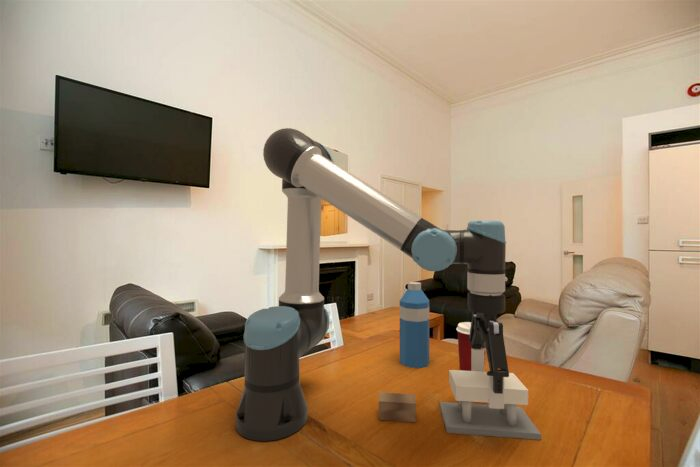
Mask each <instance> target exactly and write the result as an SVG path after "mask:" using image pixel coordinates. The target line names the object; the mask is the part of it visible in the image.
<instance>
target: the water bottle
mask: <svg viewBox="0 0 700 467" xmlns="http://www.w3.org/2000/svg"><path fill="white" fill-rule="evenodd" d="M399 363H400V364H401V365H402V366H404V367H406V368H407V367H408V368H414V369H421V368H427V367H428V366H429V364H430V299H429V298H428V297H427V295H426V294H425V293H424V291H423V290H422V282H418V281H410V282H407V290H406V291H405V293H403V295H402V296H401V298H400V300H399Z"/></svg>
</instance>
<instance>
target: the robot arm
mask: <svg viewBox="0 0 700 467" xmlns="http://www.w3.org/2000/svg"><path fill="white" fill-rule="evenodd" d="M262 149H263V150H262V151H263V153H262V155H263V160H264V163H265V166H266V167H267V169H268V170H269V171H270V172H271V173H272V174H273V175H274V176H276V177H277V178H279V179H281V186H282V187H281V192H282V193H283V194H284V195H285V196H286V198H287V209H286V210H287V211H286V212H287V213H286V215H287V216H286V245H285V246H286V249H285V250H286V252H285V254H286V255H285V280H284V281H285V283H284V284H285V285H284V292H283V293H282V294H280V295H279V297H278V305H277V306H271V307H268V308H261V309H259V310H257V311H255V312H253V313H252V314H250V315H249V316H248V317H247V319H246V320H245V323H244V332H243V344H244V347H243V348H244V355H243V356H244V388H243V391H242V394H241V397H240V399H239V400H240V401H239V404H238V407H237V410H236V412H235V413H236V414H235V428H236V431H237V432H238V434H239V435H240V436H241V437H244V438H246V439H249V440H252V441H256V442H259V441H260V442H265V441H266V442H268V441H269V442H270V441H276V440H280V439H284V438H288V437H290V436H292V435H293V434H295V433H297V432H299V430H301V429H302V428H303V427H304V425H305V424H306V422H307V420H308V403H307V401H306V397H305V395H304V391H303V388H302V384H301V383H300V358H301V357H302V356H304V355H305V354H306V353H308V352H309V350H311V349H312V348H314V347H315V346H317V345H318V344H319V343H320V342H321V341H322V340H323V339H324V337H325V336H326V334H327V333H328V330H329V327H330V315H329V311H328V310H327V309H326V307H325V296H323V295H322V293H321V292H320V289H319V288H320V287H319V286H320V258H321V256H320V254H321V252H320V251H321V220H322V219H321V218H322V216H321V215H322V200H324V201H325V202H327V203H328V204H329V205H331V206H333V207H334V208H336V209H337V210H339V212H342V213H343V214H345V215H347V216H348V217H350V218H351V219H352V220H354V221H356V222H357V223H358V224H360V225H362V226H363V227H365V228H366V229H367V230H370V231H371V232H372V233H374V234H376V235H377V236H378V237H381V239H383V240H384V241H385V242H386V241H387V243H389V244H391V245H392V246H393V247H395V248H396V249H398V250H400V251H401V252H402V253H404V254H405V255H406V256H408V257H409V258H411V259H412V261H413V262H414V263H416V265H418V267H420V268H421V269H423V270H425V271H428V272H439V271H443V270H445V269H447V268H449V266H450V265H453V264H454V265H455V264H456V265H457V264H458V265H467V272H466V273H467V276H466V278H467V279H466V280H467V281H466V282H467V284H466V285H467V286H466V287H467V290H468V291H469V292H468V293H467V308H468V310H469V311H471V313H472V314H471V328H470V335H469V342H471V347H472V348H473V349H471V371H481V372H485V365H484V349H480V348H486V349H485V353H486V357H487V363H488V366H489V370H487V371H486V372H487V376H488V403H487V405H488V406H489V408H497V409H504V377H509V373H510V372H509V365H508V358H507V351H506V346H505V339H504V324H503V322H499V321H498V320H497V315H499V314H503V313H505V311H506V295H505V294H504V292H506V282H508V277H507V276H506V253H507V252H506V247H507V246H506V244H507V240H506V229H505V228H506V227H505V225H504V222H502V221H501V220H471V221H469V222H467V227H466V229H459V230H452V229H441V228H440V227H437V226H436V225H435V224H433V223H432V222H430V221H428V220H427V219H424V218H423V217H422V216H420V215H419V214H417V213H416V212H413V211H412V210H410V209H409V208H408V207H406V206H404V205H403V204H401V203H400V202H398V201H396V200H394V199H393V198H391V197H390V196H389V195H386V194H385V193H383V192H382V191H380V190H378V189H377V188H375V187H374V186H372V185H370V184H368V183H367V182H365V181H364V180H362V179H360V178H359V177H357V176H356V175H354V174H353V173H351V172H349V171H348V170H347V169H344V167H341V166H340V165H338V164H337V163H335V162H334V159H333V156H332V155H331V153H330V152H329V151H328V149H327V148H326V147H325V146H324V145H323V144H322V143H320V142H318V141H315V140H313V139H312V138H311V137H309V136H307V134H305V133H304V132H301V131H300V130H298V129H296V128H290V127H289V128H288V127H285V128H280V129H277V130H275V131H274V132H272V133H271V134H270V135H269V137H267V139H266V140H265V142H264V145H263V148H262ZM484 342H485V343H484Z"/></svg>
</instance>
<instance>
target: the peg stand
mask: <svg viewBox="0 0 700 467" xmlns="http://www.w3.org/2000/svg"><path fill="white" fill-rule="evenodd" d="M517 405H518V404H504V409H497V408H489V406H488V404H481V403H472V402H470V401H457V402H450V401H448V402H447V401H439V409H440V412H441V413H440V414H441V415H442V416H441V417H442V420H443V423H444V427H445V431H446V433H447V434H457V435H468V436H469V435H470V436H471V435H472V436H481V437H482V436H485V437H486V436H487V437H497V438H511V439H523V440H524V439H525V440H535V441H536V440H537V441H538V440H539V441H541V440H542V433H541V431H540V430H539V429H538V428H537V427H536V425H535V424H534V422H533V421H532V420H531V418H530V417H529V415H528V414H527V413H526V411H525V410H524V409H523V407H522V406H517Z"/></svg>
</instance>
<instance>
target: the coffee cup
mask: <svg viewBox="0 0 700 467" xmlns="http://www.w3.org/2000/svg"><path fill="white" fill-rule="evenodd" d="M470 328H471V322H470V321H464V322H463V321H462V322H459V323H458V324H457V327H456V328H455V329H456V331H457V342H458V343H457V344H458V345H457V346H458V361H459V362H458V363H459V370H462V371H471V349H473V348H472V347H471V342H469V335H470ZM484 343H485V342H484ZM480 349H484V366H485V365H486V364H485V362H486V348H480Z"/></svg>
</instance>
